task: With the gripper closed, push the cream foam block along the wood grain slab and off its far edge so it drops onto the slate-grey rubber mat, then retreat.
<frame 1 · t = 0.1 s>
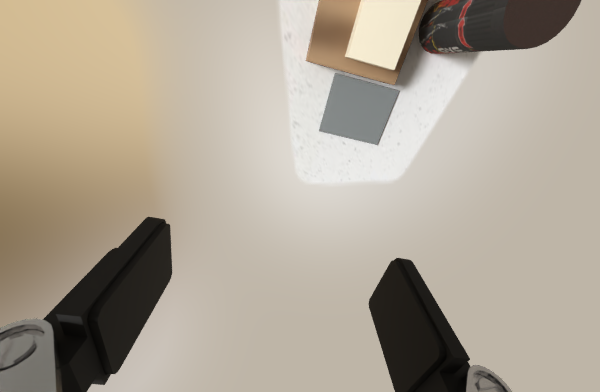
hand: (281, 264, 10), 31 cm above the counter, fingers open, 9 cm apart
deodorant: (440, 28, 32), on the counter
mat: (357, 111, 37), on the counter
cream foam block: (380, 21, 28), point 4 cm above the counter, touching wood grain slab
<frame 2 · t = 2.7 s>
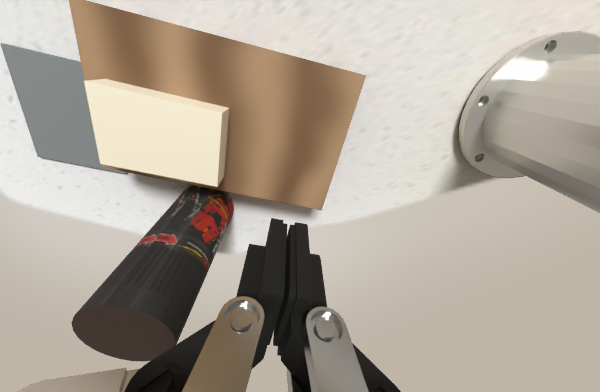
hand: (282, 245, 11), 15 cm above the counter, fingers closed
deodorant: (208, 204, 28), on the counter
mat: (73, 116, 23), on the counter
cream foam block: (170, 132, 19), point 4 cm above the counter, touching wood grain slab
wood grain slab: (233, 115, 23), on the counter
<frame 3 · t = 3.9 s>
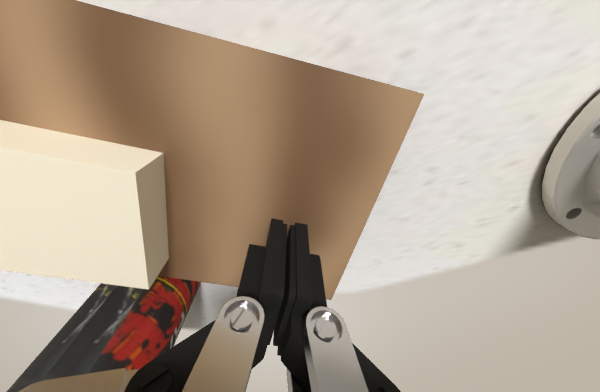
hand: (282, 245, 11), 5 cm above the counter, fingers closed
deodorant: (163, 272, 19), on the counter
cream foam block: (61, 194, 11), point 4 cm above the counter, touching wood grain slab
wood grain slab: (188, 152, 14), on the counter
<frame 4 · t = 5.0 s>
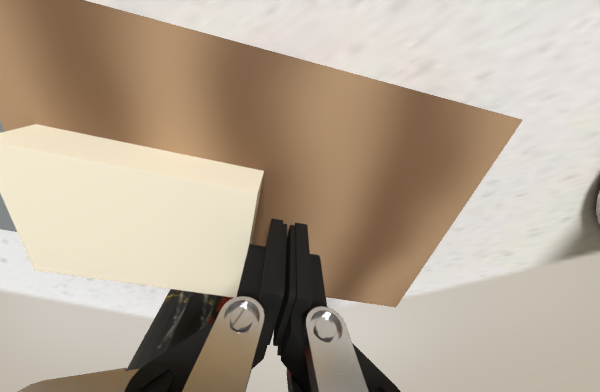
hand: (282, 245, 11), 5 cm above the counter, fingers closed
deodorant: (219, 278, 20), on the counter
mat: (12, 167, 14), on the counter
cream foam block: (160, 208, 11), point 4 cm above the counter, touching wood grain slab, gripper
wood grain slab: (263, 165, 15), on the counter
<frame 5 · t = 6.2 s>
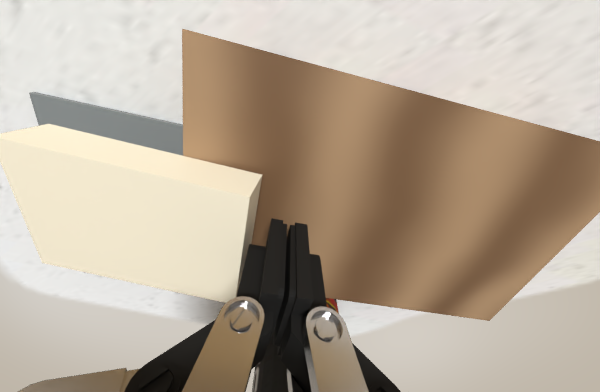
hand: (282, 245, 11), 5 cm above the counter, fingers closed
deodorant: (299, 290, 21), on the counter
mat: (132, 190, 15), on the counter
cream foam block: (161, 208, 11), point 4 cm above the counter, tilted 6°, touching wood grain slab
wood grain slab: (367, 188, 15), on the counter
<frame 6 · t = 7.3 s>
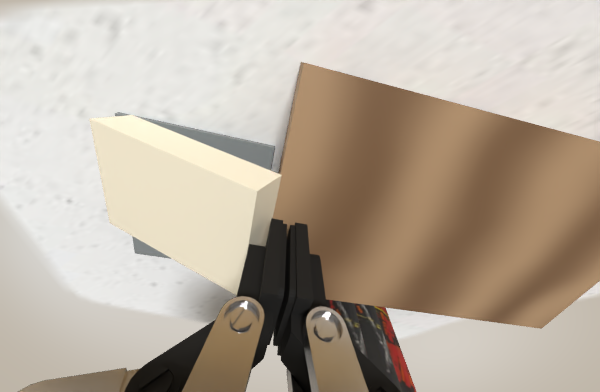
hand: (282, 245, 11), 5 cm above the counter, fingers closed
deodorant: (345, 298, 21), on the counter
mat: (198, 204, 16), on the counter
cream foam block: (198, 195, 13), point 2 cm above the counter, tilted 24°, touching wood grain slab, gripper, mat
wood grain slab: (425, 200, 16), on the counter
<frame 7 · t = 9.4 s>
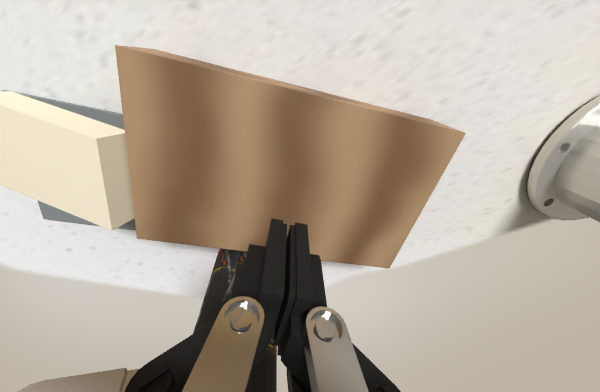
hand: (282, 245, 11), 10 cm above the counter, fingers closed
deodorant: (247, 258, 24), on the counter
mat: (93, 172, 18), on the counter
cream foam block: (78, 156, 16), point 2 cm above the counter, tilted 20°, touching wood grain slab, mat
wood grain slab: (289, 166, 19), on the counter
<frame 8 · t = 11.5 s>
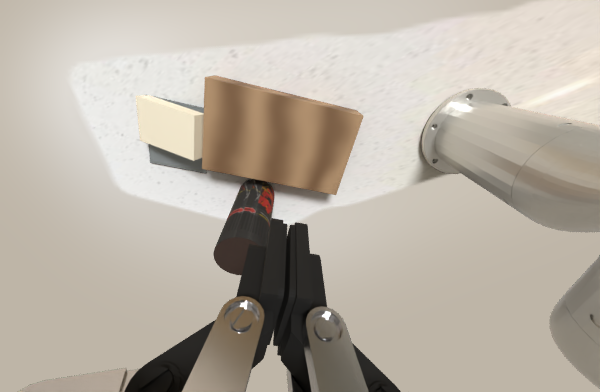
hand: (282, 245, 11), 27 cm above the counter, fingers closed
deodorant: (257, 193, 41), on the counter
mat: (178, 136, 36), on the counter
cream foam block: (176, 126, 33), point 2 cm above the counter, tilted 20°, touching wood grain slab, mat
wood grain slab: (280, 135, 36), on the counter
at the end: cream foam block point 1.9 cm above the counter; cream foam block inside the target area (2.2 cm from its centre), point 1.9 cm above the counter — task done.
